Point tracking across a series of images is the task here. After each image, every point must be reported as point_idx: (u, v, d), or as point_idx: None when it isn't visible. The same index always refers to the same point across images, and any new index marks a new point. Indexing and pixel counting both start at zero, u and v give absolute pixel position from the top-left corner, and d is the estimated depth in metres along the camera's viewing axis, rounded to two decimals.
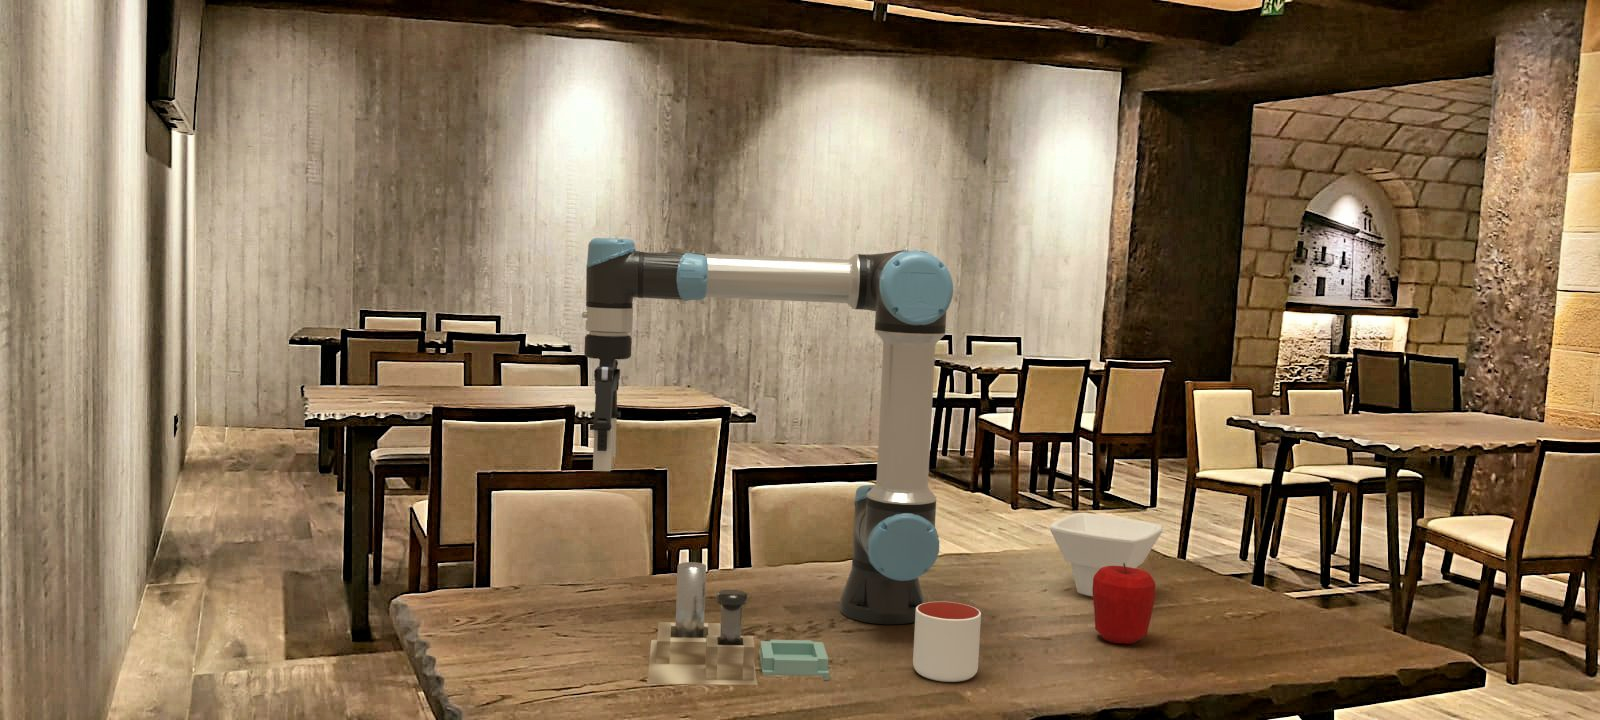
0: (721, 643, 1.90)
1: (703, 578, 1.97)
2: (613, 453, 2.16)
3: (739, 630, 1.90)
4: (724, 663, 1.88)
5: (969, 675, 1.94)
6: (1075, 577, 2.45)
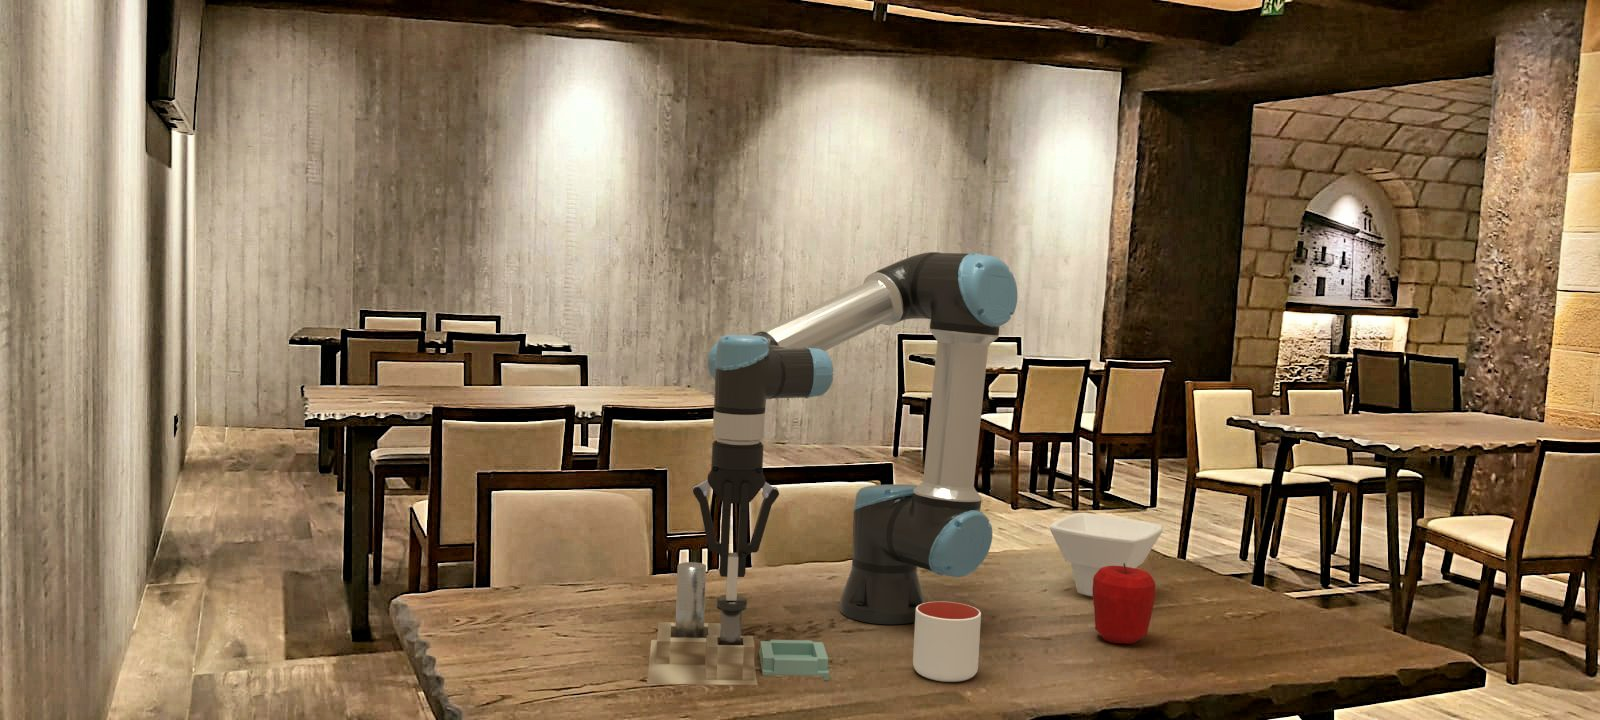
0: None
1: (703, 578, 1.97)
2: (731, 596, 1.89)
3: (739, 636, 1.90)
4: (724, 663, 1.88)
5: (969, 675, 1.94)
6: (1075, 577, 2.45)
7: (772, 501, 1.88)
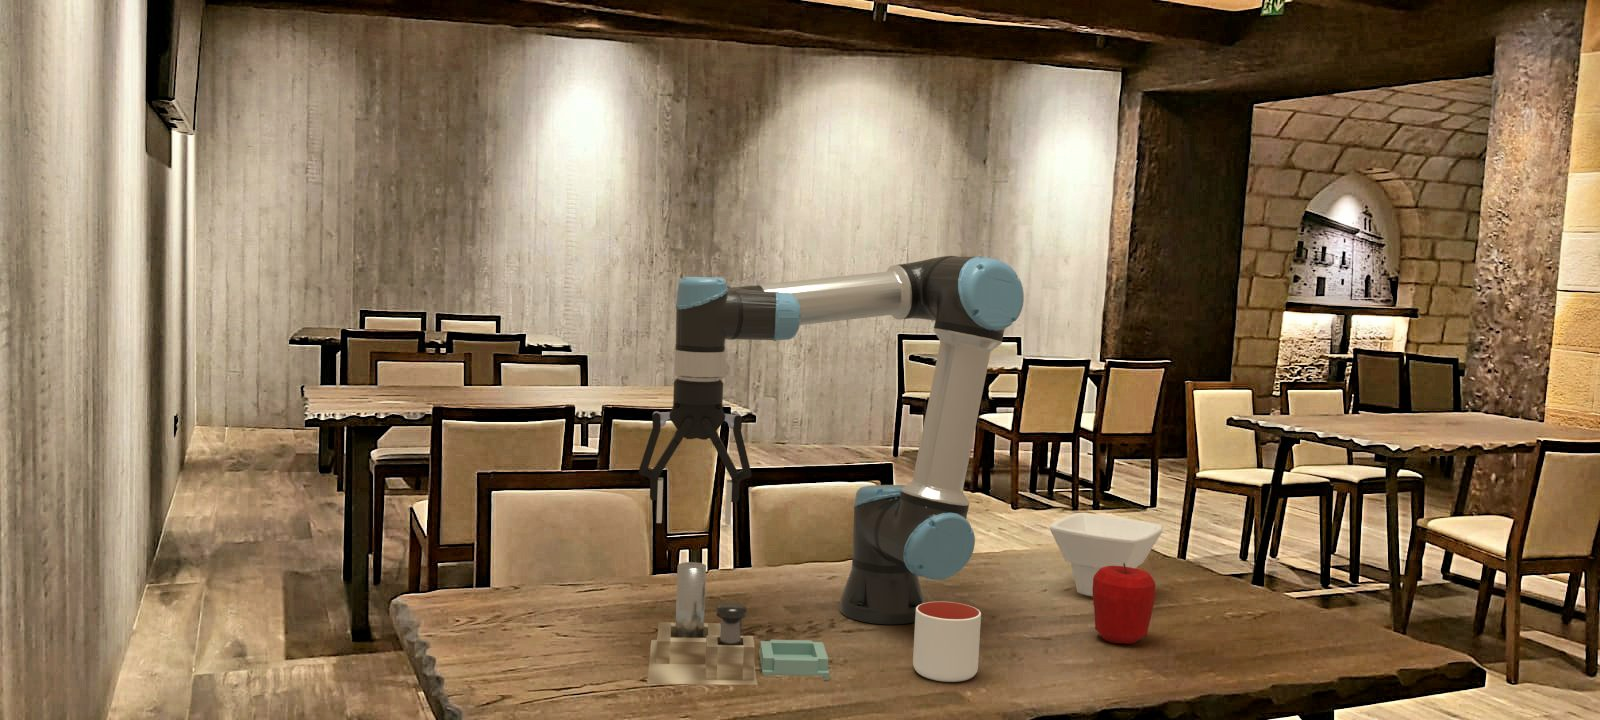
0: None
1: (703, 578, 1.97)
2: (725, 520, 1.97)
3: (738, 643, 1.90)
4: (724, 663, 1.88)
5: (969, 675, 1.94)
6: (1075, 577, 2.45)
7: (739, 427, 1.96)
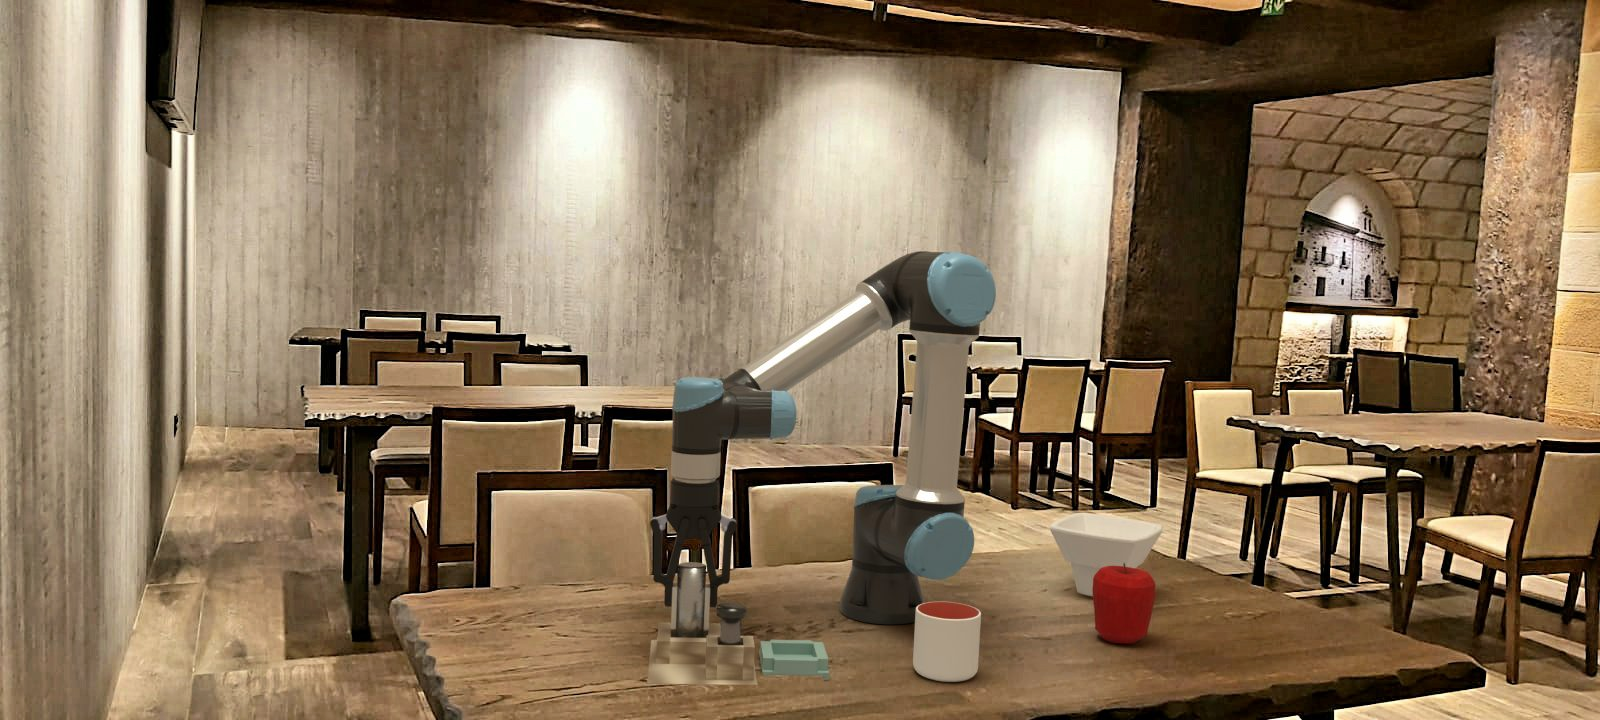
0: None
1: (703, 578, 1.97)
2: None
3: (738, 643, 1.90)
4: (724, 663, 1.88)
5: (969, 675, 1.94)
6: (1075, 577, 2.45)
7: (732, 532, 1.97)
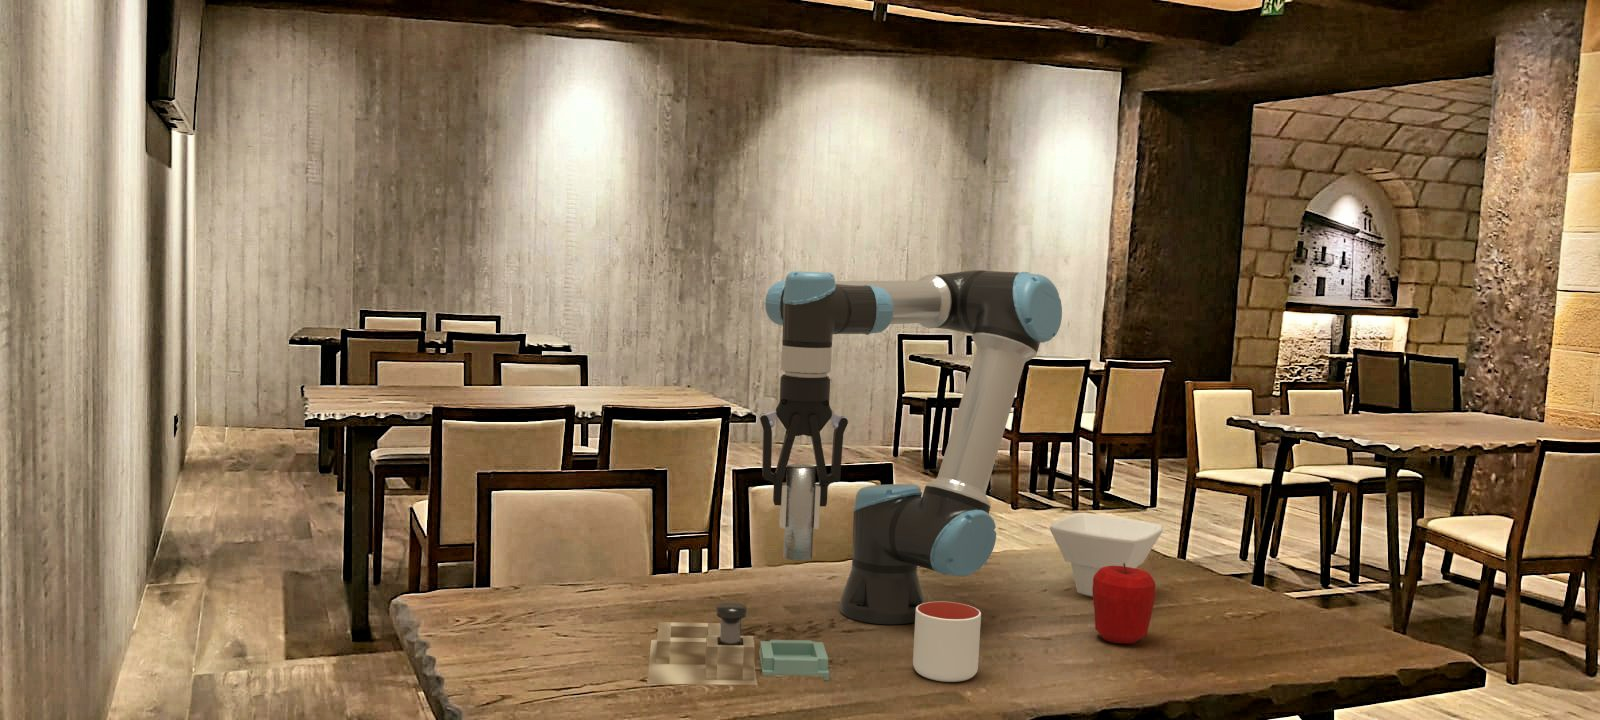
0: None
1: (813, 478, 1.93)
2: (813, 525, 1.94)
3: (738, 643, 1.90)
4: (724, 663, 1.88)
5: (969, 675, 1.94)
6: (1075, 577, 2.45)
7: (843, 429, 1.93)
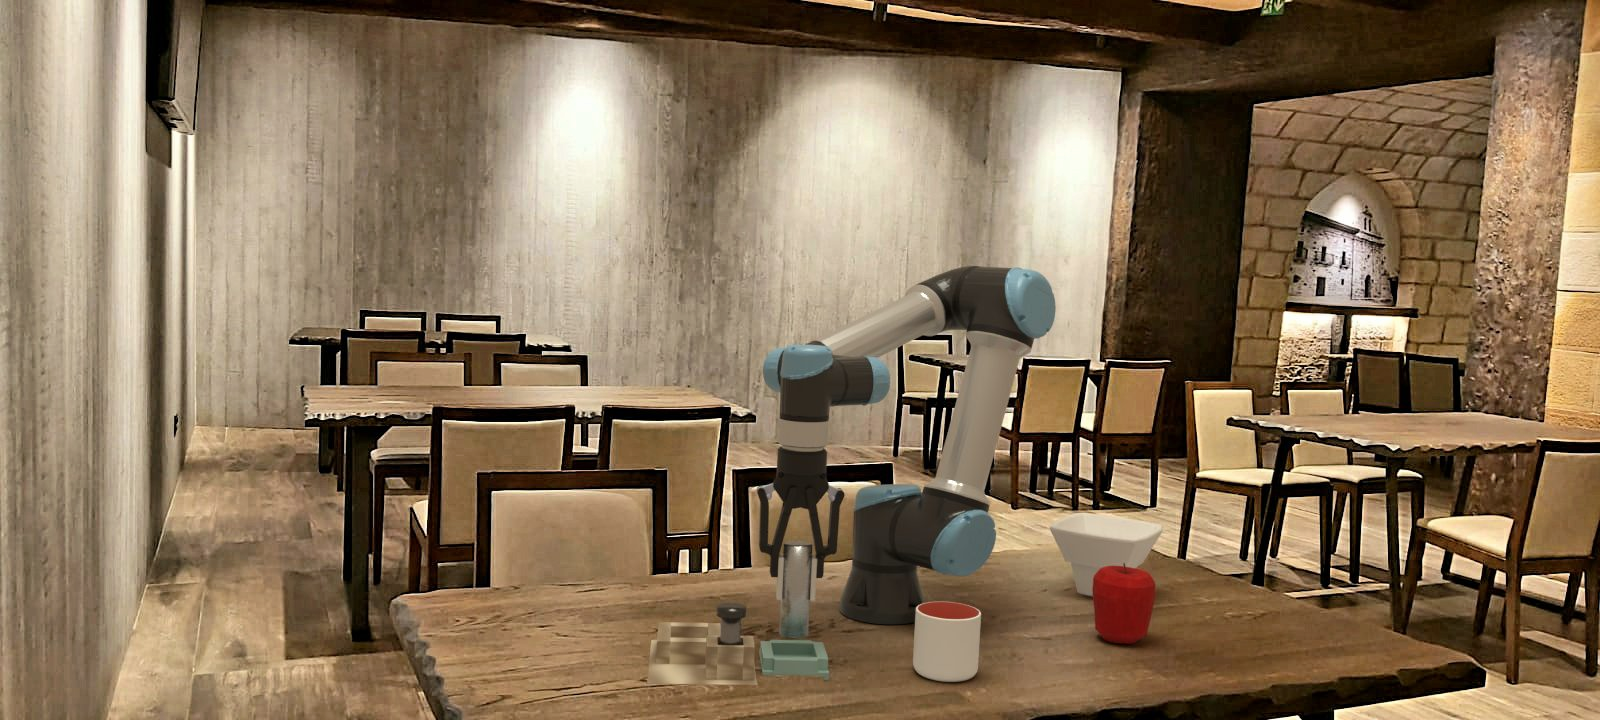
0: None
1: (810, 556, 1.94)
2: (810, 597, 1.95)
3: (738, 643, 1.90)
4: (724, 663, 1.88)
5: (969, 675, 1.94)
6: (1075, 577, 2.45)
7: (839, 502, 1.94)
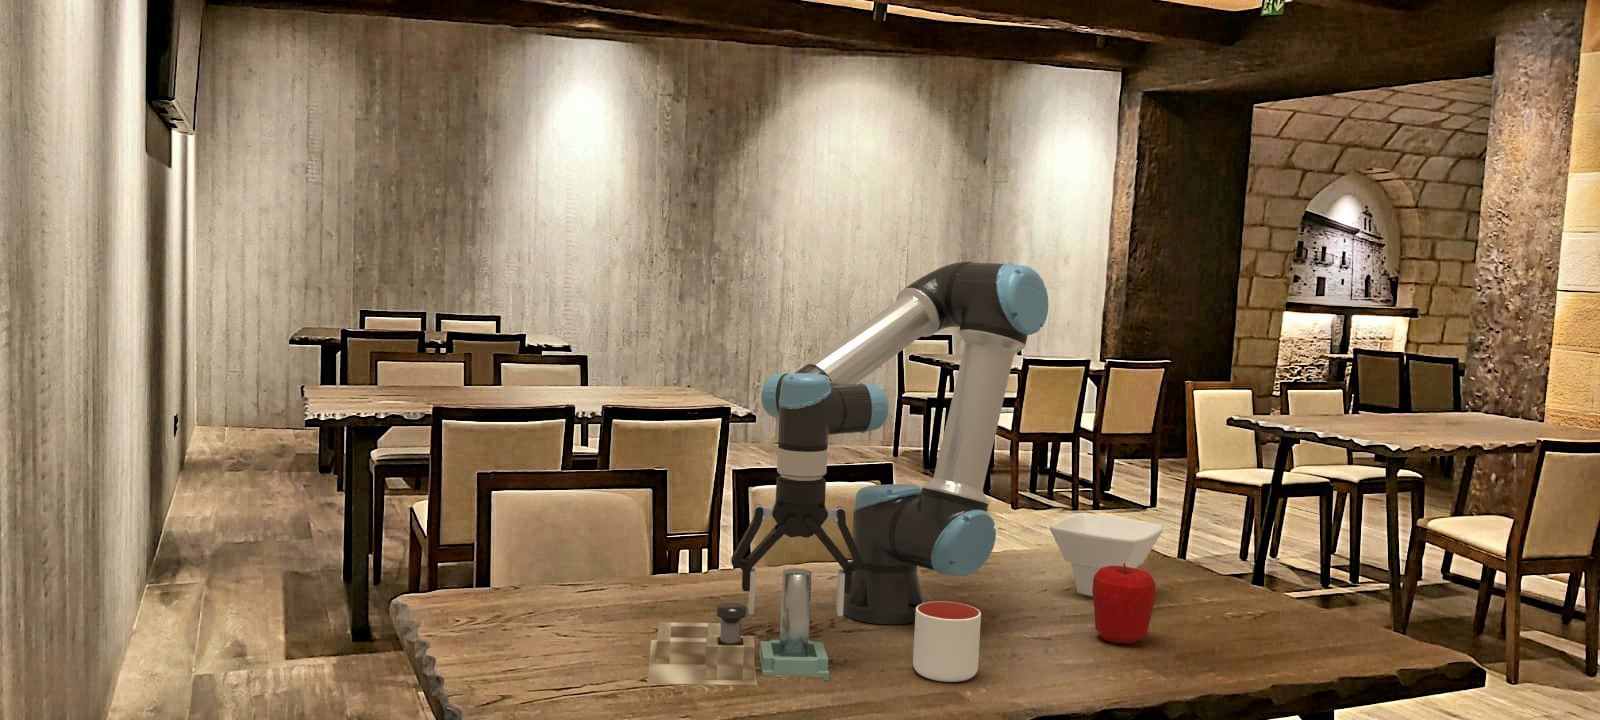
0: None
1: (809, 585, 1.95)
2: (838, 612, 1.96)
3: (738, 643, 1.90)
4: (724, 663, 1.88)
5: (969, 675, 1.94)
6: (1075, 577, 2.45)
7: (844, 520, 1.94)
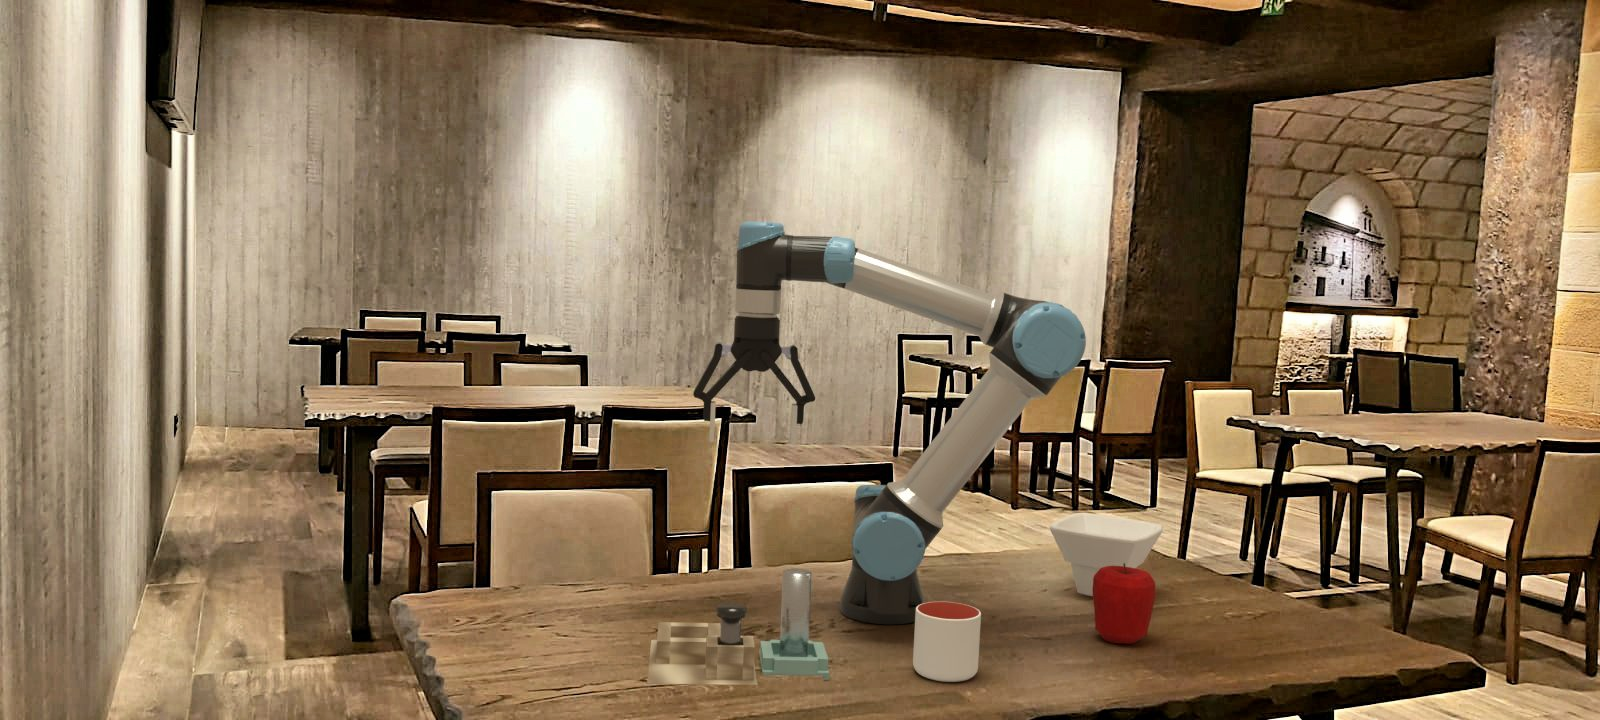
0: None
1: (809, 585, 1.95)
2: (791, 440, 2.14)
3: (738, 643, 1.90)
4: (724, 663, 1.88)
5: (969, 675, 1.94)
6: (1075, 577, 2.45)
7: (796, 356, 2.12)
